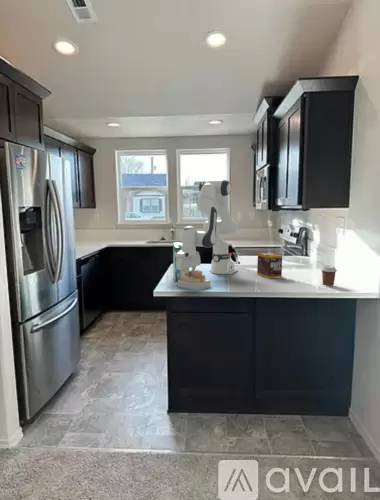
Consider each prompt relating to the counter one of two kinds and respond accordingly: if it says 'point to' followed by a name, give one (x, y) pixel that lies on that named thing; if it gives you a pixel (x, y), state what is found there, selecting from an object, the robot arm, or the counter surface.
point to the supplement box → (269, 265)
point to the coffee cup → (328, 275)
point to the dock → (194, 284)
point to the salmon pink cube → (197, 273)
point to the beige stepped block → (192, 277)
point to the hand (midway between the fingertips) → (188, 274)
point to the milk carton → (176, 272)
